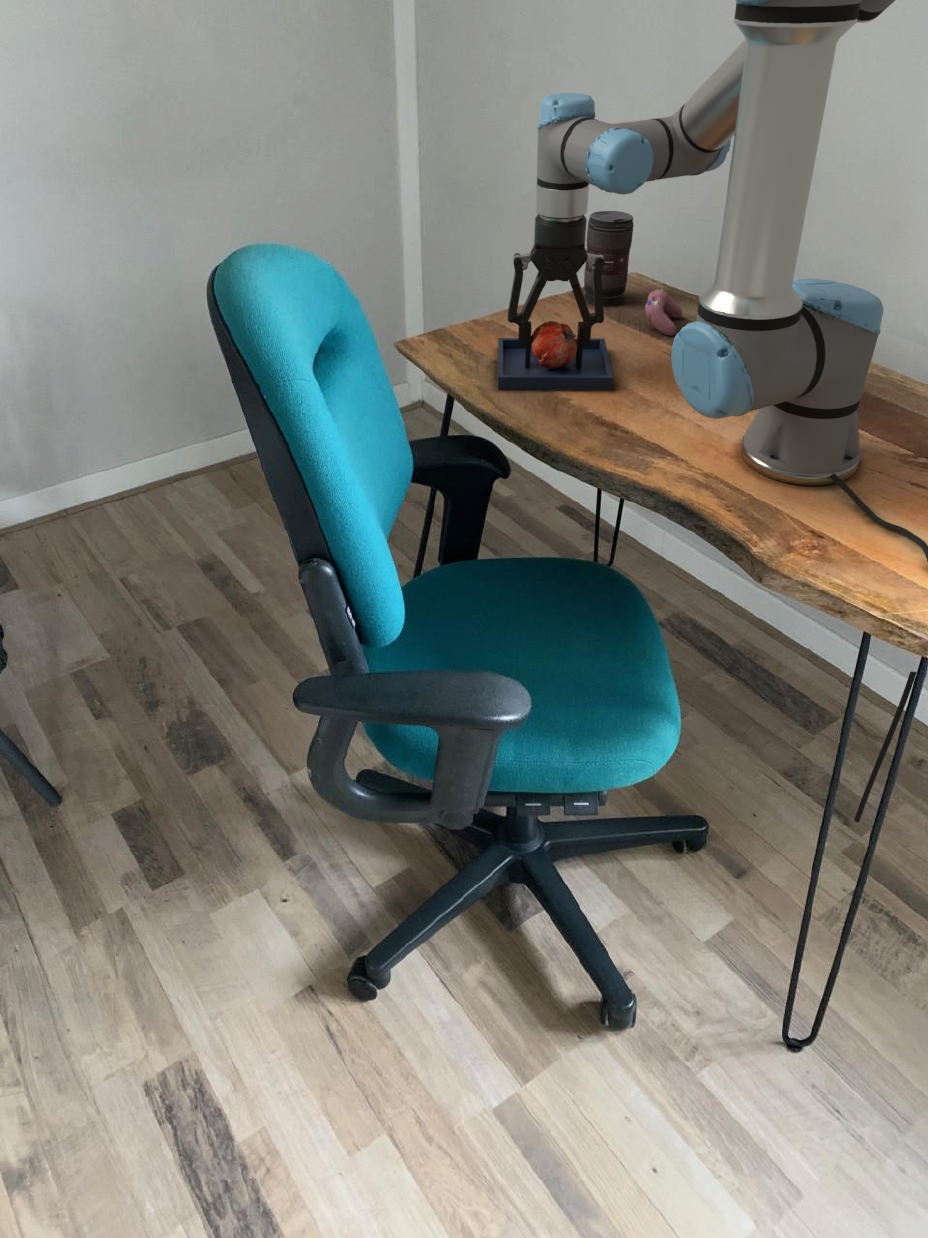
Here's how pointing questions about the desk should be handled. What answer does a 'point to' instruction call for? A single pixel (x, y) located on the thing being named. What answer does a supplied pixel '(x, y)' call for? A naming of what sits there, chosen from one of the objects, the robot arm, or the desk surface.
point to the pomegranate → (553, 344)
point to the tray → (566, 377)
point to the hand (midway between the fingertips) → (552, 363)
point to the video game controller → (662, 311)
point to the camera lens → (609, 253)
